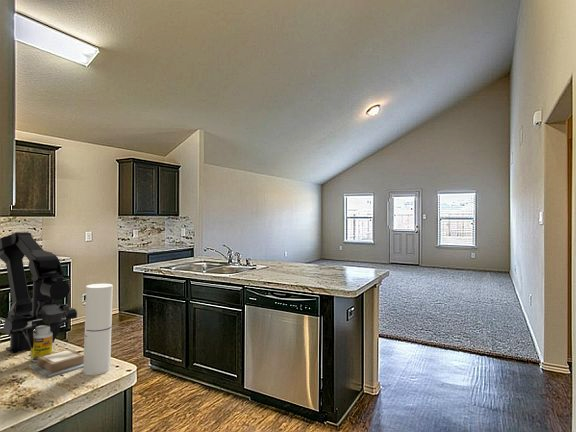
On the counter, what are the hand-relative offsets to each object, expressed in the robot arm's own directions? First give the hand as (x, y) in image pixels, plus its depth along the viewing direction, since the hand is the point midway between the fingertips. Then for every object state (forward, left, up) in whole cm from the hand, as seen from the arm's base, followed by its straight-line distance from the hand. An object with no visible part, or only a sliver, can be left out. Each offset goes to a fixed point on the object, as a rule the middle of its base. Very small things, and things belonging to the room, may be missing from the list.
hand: (41, 345), depth 120 cm
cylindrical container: (+21, +6, -5) cm, 22 cm away
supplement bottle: (0, 0, -5) cm, 5 cm away
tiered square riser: (+10, +1, -4) cm, 11 cm away
